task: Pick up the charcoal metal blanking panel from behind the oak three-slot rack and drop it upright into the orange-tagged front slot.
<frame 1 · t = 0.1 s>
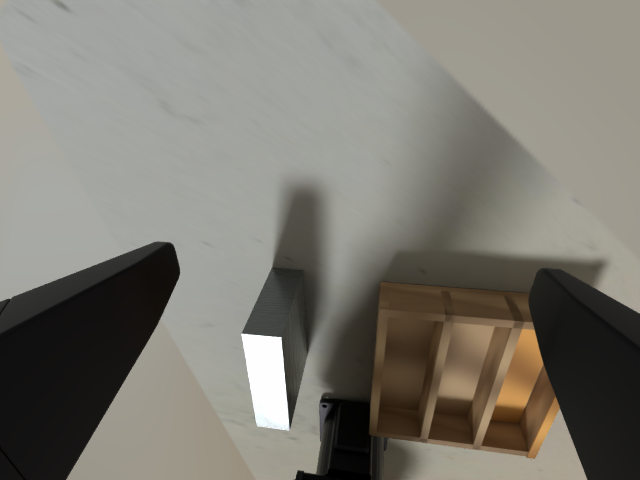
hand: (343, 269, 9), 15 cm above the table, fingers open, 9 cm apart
blanking panel: (291, 314, 30), on the table
rack: (457, 358, 30), on the table
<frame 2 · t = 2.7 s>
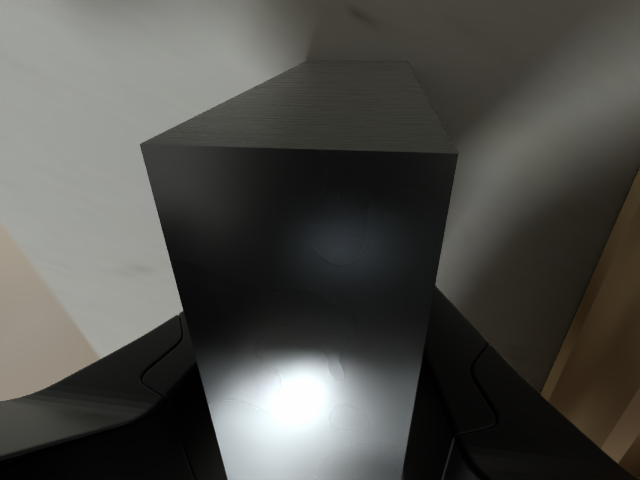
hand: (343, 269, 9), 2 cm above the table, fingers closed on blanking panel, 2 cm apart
blanking panel: (350, 229, 11), on the table, touching gripper
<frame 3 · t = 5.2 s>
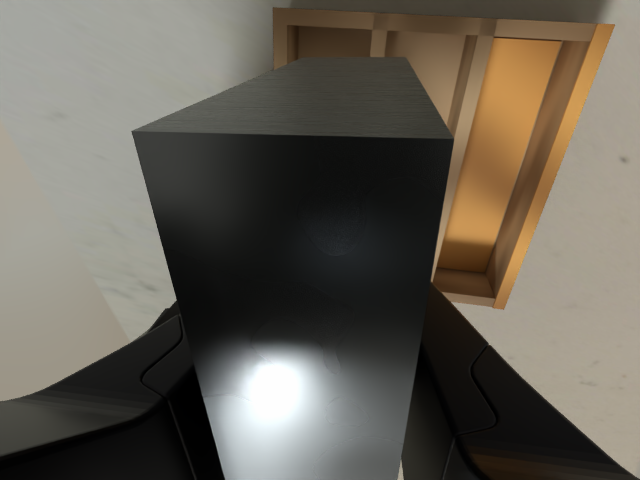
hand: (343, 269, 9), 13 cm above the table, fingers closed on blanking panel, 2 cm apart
blanking panel: (348, 226, 11), point 11 cm above the table, touching gripper
rack: (403, 162, 21), on the table
when the fingers open (4 cm above the table, at t = 7.6 s): blanking panel drops 1 cm, resting on rack.
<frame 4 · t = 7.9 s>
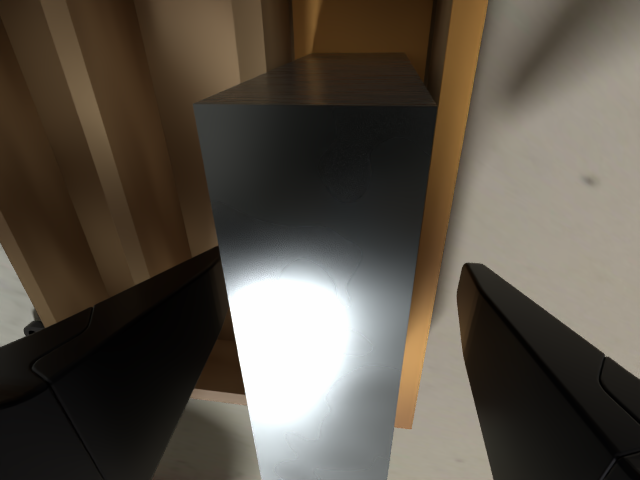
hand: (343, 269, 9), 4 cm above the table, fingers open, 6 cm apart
blanking panel: (352, 210, 12), point 1 cm above the table, touching rack
rack: (234, 199, 13), on the table
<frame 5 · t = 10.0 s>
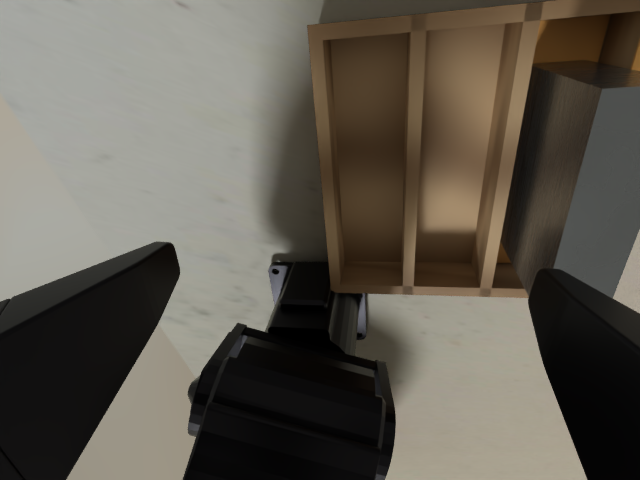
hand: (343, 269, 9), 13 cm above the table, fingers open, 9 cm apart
blanking panel: (535, 158, 19), point 1 cm above the table, touching rack
rack: (448, 159, 20), on the table
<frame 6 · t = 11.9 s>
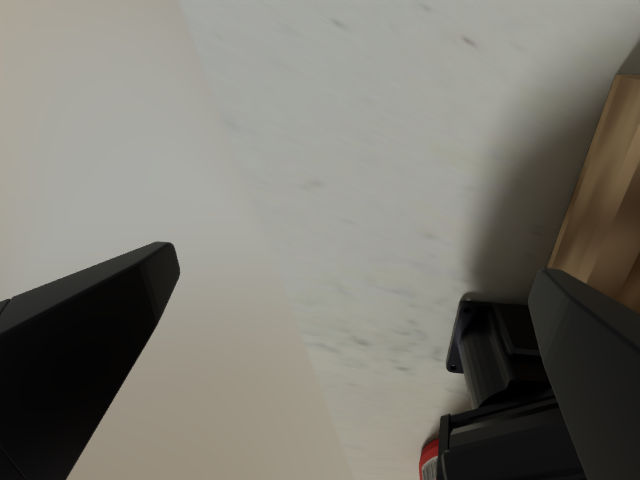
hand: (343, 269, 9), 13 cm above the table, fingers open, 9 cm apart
canned food: (461, 456, 34), on the table
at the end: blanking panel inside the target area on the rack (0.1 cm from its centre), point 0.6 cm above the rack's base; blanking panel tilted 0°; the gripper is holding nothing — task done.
